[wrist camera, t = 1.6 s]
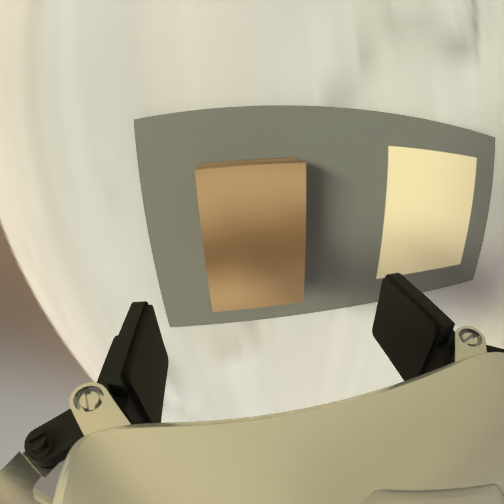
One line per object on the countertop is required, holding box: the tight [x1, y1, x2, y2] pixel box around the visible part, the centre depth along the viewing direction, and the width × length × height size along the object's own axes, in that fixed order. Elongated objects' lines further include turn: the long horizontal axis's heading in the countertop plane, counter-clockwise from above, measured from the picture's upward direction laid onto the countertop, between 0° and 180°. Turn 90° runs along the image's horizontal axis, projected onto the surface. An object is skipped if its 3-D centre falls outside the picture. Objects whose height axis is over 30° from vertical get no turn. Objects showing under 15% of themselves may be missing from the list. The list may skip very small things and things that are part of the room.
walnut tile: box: [195, 157, 306, 312], centre depth 18 cm, size 9×6×3 cm, turn 3°
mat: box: [134, 106, 495, 327], centre depth 20 cm, size 16×32×1 cm, turn 93°
